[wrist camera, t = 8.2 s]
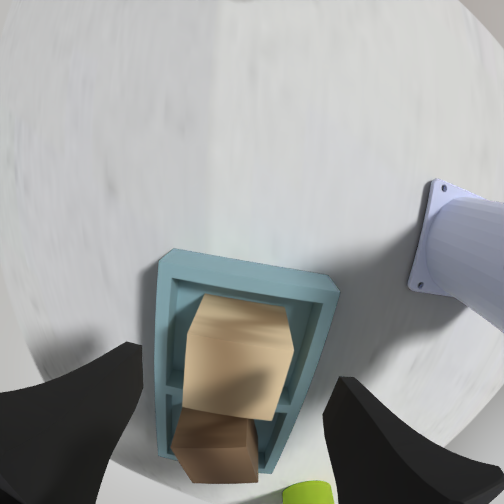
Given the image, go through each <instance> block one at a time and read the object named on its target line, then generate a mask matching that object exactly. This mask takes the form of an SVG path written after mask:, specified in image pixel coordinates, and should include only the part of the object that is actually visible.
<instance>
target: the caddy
mask: <svg viewBox="0 0 504 504" xmlns="http://www.w3.org/2000/svg"><path fill="white" fill-rule="evenodd" d="M205 293H206V294H211V295H217V296H222V297H228V298H233V299H239V300H245V301H251V302H257V303H263V304H269V305H276V306H282V307H285V310H286V314H287V319H288V324H289V328H290V333H291V338H292V343H293V347H294V353H293V356H292V360H291V363H290V366H289V369H288V373H287V376H286V379H285V382H284V385H283V389H282V392H281V395H280V398H279V401H278V404H277V407H276V410H275V413H274V416H273V419H272V421H268V420H259V419H254V422H255V426H256V430H257V434H258V473H267V474H272V472H273V470H274V468H275V466H276V464H277V462H278V460H279V458H280V455H281V453H282V451H283V449H284V447H285V444H286V442H287V440H288V438H289V435H290V433H291V431H292V428H293V426H294V424H295V421H296V419H297V417H298V414H299V412H300V409H301V407H302V404H303V402H304V399H305V397H306V394H307V391H308V389H309V386H310V383H311V381H312V378H313V375H314V373H315V370H316V367H317V364H318V361H319V359H320V356H321V353H322V350H323V347H324V344H325V341H326V338H327V335H328V332H329V328H330V325H331V322H332V319H333V316H334V312H335V309H336V306H337V302H338V299H339V295H340V291H339V289H338V288H337V287H336V285H335V284H334V283H333V281H332V280H331V278H330V277H329V276H328V275H325V274H319V273H313V272H307V271H301V270H295V269H289V268H283V267H277V266H271V265H266V264H260V263H254V262H248V261H242V260H237V259H231V258H225V257H220V256H214V255H208V254H203V253H197V252H192V251H186V250H180V249H175V248H173V249H172V250H171V251H170V252H169V253H168V254H166V255H165V256H164V257H163V258H162V259H161V260H159V266H158V279H157V294H156V314H155V352H154V377H155V413H156V431H157V446H158V456H160V457H164V458H168V459H173V460H177V461H178V459H177V458H176V456H175V454H174V453H173V451H172V449H171V448H170V447H171V444H172V441H173V437H174V434H175V430H176V427H177V424H178V420H179V417H180V414H181V411H182V402H183V385H184V369H185V356H186V343H187V333H188V331H189V328H190V326H191V324H192V321H193V319H194V317H195V315H196V312H197V310H198V308H199V306H200V303H201V301H202V299H203V297H204V294H205Z"/></svg>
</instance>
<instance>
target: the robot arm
mask: <svg viewBox="0 0 504 504" xmlns="http://www.w3.org/2000/svg"><path fill="white" fill-rule="evenodd" d="M442 185H443V186H444V190H443V191H442V188H441V187H442ZM420 282H421V285H420V286H419V287H418V284H419V283H420ZM408 288H409V289H410V290H412V291H416V292H423V293H429V294H436V295H443V296H450V297H455V298H456V299H457V300H459V301H460V302H462V303H463V304H465V305H466V306H468V307H469V308H470V309H472V310H473V311H475V312H476V313H477V314H479V315H480V316H482V317H483V318H484V319H486V320H487V321H488V322H490V323H491V324H492V325H494V326H495V327H496V328H498V329H499V330H500V331H502V332H503V333H504V203H502V202H497V201H491V200H487V199H485V198H483V197H480V196H478V195H476V194H474V193H472V192H469V191H467V190H465V189H462V188H460V187H458V186H455V185H453V184H451V183H448V182H446V181H443V180H441V179H434V180H433V181H432V183H431V187H430V193H429V198H428V204H427V209H426V214H425V219H424V223H423V228H422V232H421V236H420V240H419V244H418V248H417V252H416V256H415V259H414V263H413V267H412V270H411V273H410V277H409V280H408ZM142 389H143V368H142V345H138V344H134V343H130V342H125V343H123V344H121V345H120V346H118V347H116V348H115V349H113V350H111V351H109V352H108V353H106V354H104V355H103V356H101V357H99V358H97V359H95V360H94V361H92V362H90V363H88V364H86V365H84V366H82V367H80V368H78V369H76V370H74V371H72V372H70V373H68V374H66V375H64V376H61V377H59V378H56V379H54V380H51V381H48V382H45V383H42V384H39V385H36V386H32V387H27V388H24V389H19V390H15V391H9V392H2V393H0V504H95V503H96V499H97V495H98V492H99V489H100V485H101V482H102V479H103V476H104V473H105V470H106V467H107V464H108V462H109V459H110V457H111V455H112V452H113V450H114V448H115V446H116V445H117V443H118V441H119V439H120V437H121V435H122V433H123V431H124V429H125V428H126V426H127V424H128V422H129V420H130V418H131V416H132V414H133V412H134V410H135V408H136V406H137V403H138V400H139V398H140V395H141V392H142ZM323 426H324V435H325V440H326V444H327V448H328V453H329V457H330V461H331V465H332V469H333V473H334V477H335V481H336V486H337V493H338V503H339V504H489V503H490V502H491V501H492V500H493V499H494V498H496V497H497V496H498V495H499V494H500V493H501V492H502V491H503V490H504V473H503V472H502V470H501V468H500V467H499V466H495V465H490V464H486V463H482V462H478V461H474V460H471V459H469V458H466V457H463V456H460V455H458V454H456V453H453V452H451V451H449V450H447V449H445V448H443V447H441V446H439V445H437V444H435V443H434V442H432V441H430V440H428V439H427V438H425V437H424V436H422V435H421V434H419V433H418V432H416V431H415V430H413V429H412V428H411V427H409V426H408V425H407V424H406V423H404V422H403V421H402V420H401V419H399V418H398V417H397V416H396V415H395V414H393V413H392V412H391V411H390V410H389V409H388V408H387V407H386V406H385V405H383V404H382V403H381V402H380V401H379V400H378V399H377V398H376V397H375V396H374V395H373V394H372V393H371V392H370V391H369V390H368V389H367V388H366V387H364V386H363V385H362V384H361V383H360V382H359V381H358V380H357V379H356V378H354V377H340V376H339V378H338V381H337V383H336V385H335V388H334V390H333V392H332V395H331V397H330V399H329V401H328V404H327V406H326V408H325V410H324V412H323Z"/></svg>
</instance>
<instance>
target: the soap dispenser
mask: <svg viewBox="0 0 504 504" xmlns="http://www.w3.org/2000/svg"><path fill="white" fill-rule="evenodd" d="M282 496H283V504H334V500H333V495H332V490H331V486H330V484H329V483H327V482H323V481H307V482H301V483H298V484H294V485H292V486H290V487H288V488H286V489H285V490H284V491H283V493H282Z"/></svg>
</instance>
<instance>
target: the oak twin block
mask: <svg viewBox="0 0 504 504" xmlns="http://www.w3.org/2000/svg"><path fill="white" fill-rule="evenodd" d="M293 353H294V347H293V343H292V338H291V333H290V328H289V324H288V319H287V314H286V310H285V307H282V306H276V305H269V304H263V303H257V302H251V301H245V300H239V299H233V298H228V297H222V296H217V295H211V294H206V293H205V294H204V297H203V299H202V301H201V303H200V306H199V308H198V310H197V312H196V315H195V317H194V319H193V321H192V324H191V326H190V328H189V331H188V333H187V343H186V356H185V369H184V385H183V402H182V407H185V408H190V409H195V410H200V411H205V412H210V413H216V414H222V415H229V416H235V417H242V418H250V419H259V420H268V421H272V419H273V416H274V413H275V410H276V407H277V404H278V401H279V398H280V395H281V392H282V389H283V385H284V382H285V379H286V376H287V373H288V369H289V366H290V363H291V360H292V356H293Z"/></svg>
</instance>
